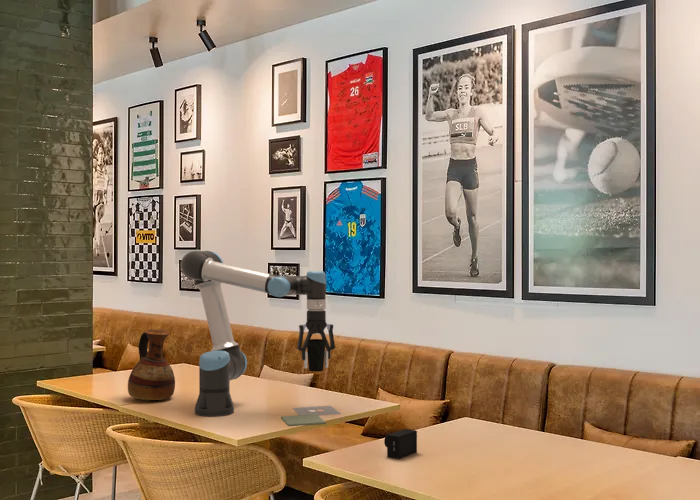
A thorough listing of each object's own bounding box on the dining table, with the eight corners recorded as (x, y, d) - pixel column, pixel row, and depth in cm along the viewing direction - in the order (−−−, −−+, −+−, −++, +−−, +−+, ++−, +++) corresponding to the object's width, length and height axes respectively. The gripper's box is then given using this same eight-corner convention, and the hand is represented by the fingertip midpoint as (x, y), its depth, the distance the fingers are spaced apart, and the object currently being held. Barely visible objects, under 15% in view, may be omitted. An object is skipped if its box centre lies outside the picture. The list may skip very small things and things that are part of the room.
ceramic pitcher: (147, 405, 307) (147, 332, 307) (117, 400, 319) (117, 329, 319) (184, 398, 322) (184, 329, 322) (154, 393, 334) (155, 326, 335)
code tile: (300, 418, 287) (300, 416, 287) (292, 410, 302) (292, 407, 302) (341, 416, 291) (341, 413, 291) (330, 408, 307) (330, 405, 307)
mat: (288, 426, 270) (288, 424, 270) (280, 418, 283) (280, 416, 283) (325, 423, 274) (325, 422, 274) (316, 415, 287) (316, 414, 287)
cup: (302, 371, 295) (302, 340, 295) (312, 368, 302) (312, 338, 302) (319, 372, 292) (319, 341, 292) (329, 369, 298) (329, 339, 298)
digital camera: (402, 449, 237) (402, 427, 237) (417, 452, 234) (417, 430, 234) (383, 456, 229) (383, 433, 229) (398, 459, 226) (398, 436, 226)
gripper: (292, 311, 290) (292, 370, 290) (343, 310, 296) (343, 368, 296) (288, 309, 298) (288, 367, 297) (338, 308, 303) (338, 365, 303)
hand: (316, 367), depth 297 cm, fingers closed on cup, 8 cm apart
